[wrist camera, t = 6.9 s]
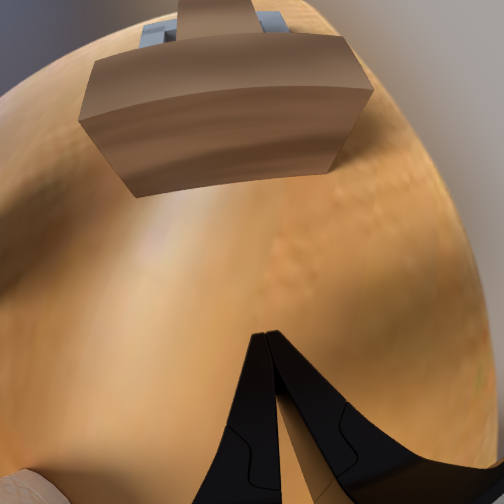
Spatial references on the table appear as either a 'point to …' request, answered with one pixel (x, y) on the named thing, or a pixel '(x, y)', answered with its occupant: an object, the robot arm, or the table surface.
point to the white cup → (29, 489)
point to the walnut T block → (223, 102)
